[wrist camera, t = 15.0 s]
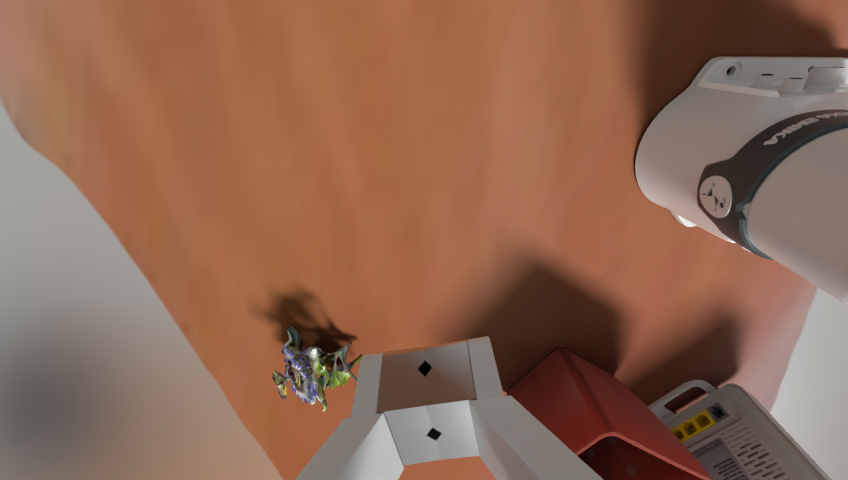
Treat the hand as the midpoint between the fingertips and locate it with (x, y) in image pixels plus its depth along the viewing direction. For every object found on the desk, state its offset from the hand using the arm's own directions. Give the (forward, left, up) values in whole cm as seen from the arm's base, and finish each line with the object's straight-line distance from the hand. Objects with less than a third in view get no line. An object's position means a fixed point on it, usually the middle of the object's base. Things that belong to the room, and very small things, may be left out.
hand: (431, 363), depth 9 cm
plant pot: (-14, +46, -34) cm, 59 cm away
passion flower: (+20, +30, -34) cm, 50 cm away
